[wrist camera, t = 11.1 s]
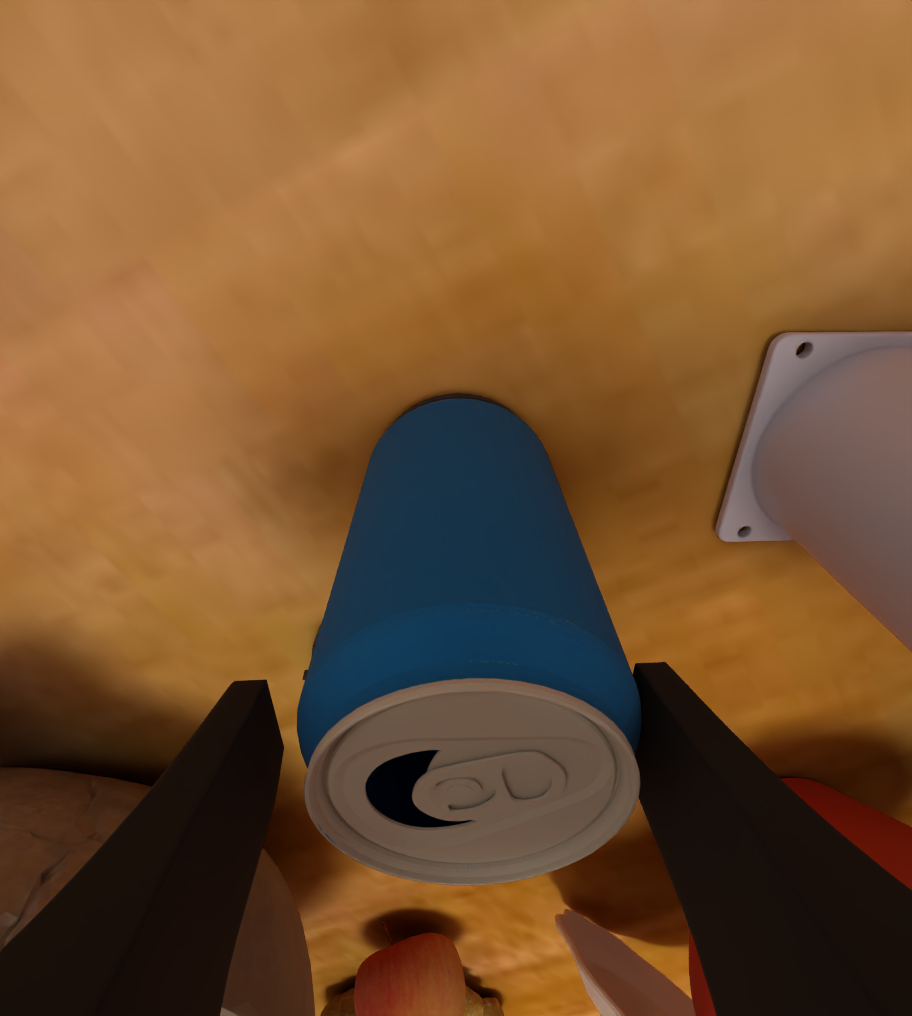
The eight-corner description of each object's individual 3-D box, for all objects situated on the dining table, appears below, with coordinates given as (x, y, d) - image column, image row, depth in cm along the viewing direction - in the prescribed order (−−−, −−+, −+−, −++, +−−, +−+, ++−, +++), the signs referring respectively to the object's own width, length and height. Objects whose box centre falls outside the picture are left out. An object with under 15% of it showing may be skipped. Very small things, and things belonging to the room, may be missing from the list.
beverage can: (341, 421, 18) (200, 721, 8) (526, 366, 17) (644, 622, 7) (404, 566, 21) (363, 917, 11) (562, 527, 20) (681, 866, 10)
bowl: (274, 649, 23) (181, 911, 15) (383, 929, 37) (368, 1148, 29) (-321, 711, 24) (-743, 999, 15) (5, 964, 38) (-121, 1189, 29)
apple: (503, 1052, 33) (471, 901, 39) (420, 1076, 29) (398, 902, 35) (422, 1083, 36) (404, 937, 42) (335, 1109, 31) (328, 941, 37)
